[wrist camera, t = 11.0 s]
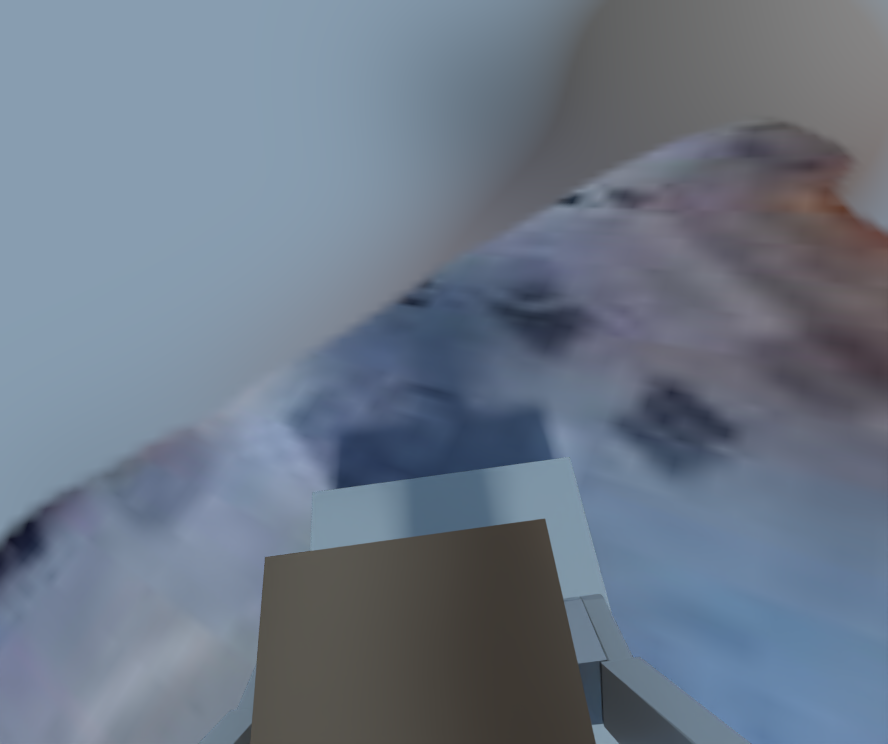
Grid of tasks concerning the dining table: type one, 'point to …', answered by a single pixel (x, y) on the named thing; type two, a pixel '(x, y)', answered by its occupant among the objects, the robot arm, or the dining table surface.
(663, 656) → the dining table surface
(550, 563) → the walnut block
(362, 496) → the slate base
